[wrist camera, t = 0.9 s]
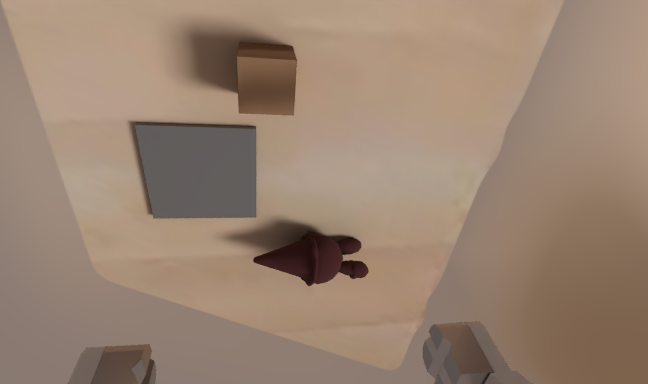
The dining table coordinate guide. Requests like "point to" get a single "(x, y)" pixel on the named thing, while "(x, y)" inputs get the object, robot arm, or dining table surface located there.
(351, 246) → the icecream
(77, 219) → the dining table surface
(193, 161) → the coaster
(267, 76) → the cube
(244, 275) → the dining table surface
